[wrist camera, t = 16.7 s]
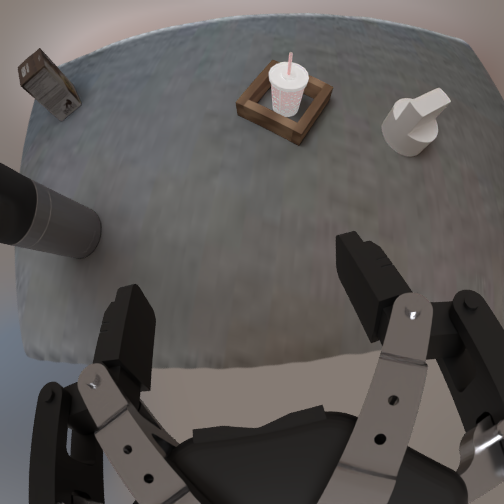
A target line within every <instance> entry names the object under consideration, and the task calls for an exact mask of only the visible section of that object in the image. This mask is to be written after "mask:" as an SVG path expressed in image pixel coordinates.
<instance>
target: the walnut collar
mask: <svg viewBox="0 0 504 504" xmlns="http://www.w3.org/2000/svg"><path fill="white" fill-rule="evenodd" d="M278 63H280V62H277V61H275V60H272V61H271V62H270V63H269V64H268V65H267V66H266V68H265V69H264V70H263V71H262V72H261V73H260V74H259V75H258V77H257V78H256V79H255V80H254V81H253V82H252V83H251V85H250V86H249V87H248V88H247V89H246V91H245V92H244V93H243V94H242V95H241V96H240V98H239V99H238V100H237V101H236V108H237V114H238V115H239V116H241V117H243V118H245V119H247V120H249V121H251V122H253V123H255V124H258V125H260V126H262V127H264V128H266V129H268V130H270V131H272V132H274V133H276V134H277V135H279V136H281V137H283V138H285V139H287V140H289V141H291V142H293V143H295V144H296V145H298V146H299V145H300V143H301V142H302V140H303V139H304V137H305V136H306V134H307V133H308V131H309V130H310V128H311V127H312V125H313V124H314V122H315V121H316V119H317V118H318V116H319V115H320V113H321V112H322V110H323V109H324V107H325V106H326V104H327V103H328V101H329V99H330V96H331V93H332V90H333V87H332V86H330V85H328V84H326V83H324V82H322V81H320V80H318V79H316V78H314V77H312V76H310V75H308V76H309V80H308V83H307V85H306V87H305V88H304V92H303V94H305V95H307V96H309V97H311V98H313V99H314V100H313V102H312V103H311V104H310V106H309V107H308V109H307V110H306V112H305V113H304V114H303V116H302V117H301V119H300V120H299V122H298V123H296V122H294V121H292V120H290V119H288V118H286V117H284V116H282V115H280V114H278V113H276V112H274V111H272V110H270V109H268V108H266V107H264V106H261V105H259V104H257V103H258V101H259V100H260V99H261V98H262V96H263V95H264V94H265V93H266V91H267V90H268V89H269V88H270V87H271V83H270V81H269V71H270V69H271V67H273V66H274V65H276V64H278Z"/></svg>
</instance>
